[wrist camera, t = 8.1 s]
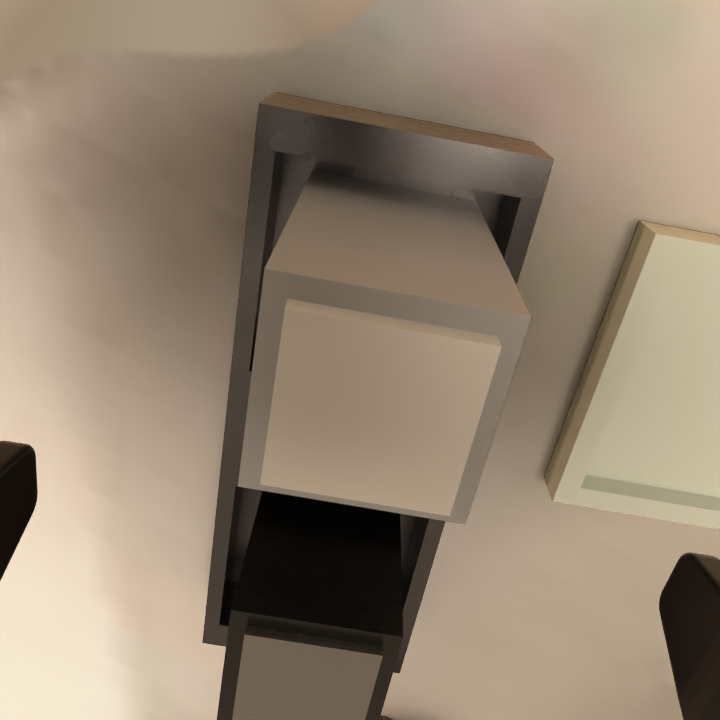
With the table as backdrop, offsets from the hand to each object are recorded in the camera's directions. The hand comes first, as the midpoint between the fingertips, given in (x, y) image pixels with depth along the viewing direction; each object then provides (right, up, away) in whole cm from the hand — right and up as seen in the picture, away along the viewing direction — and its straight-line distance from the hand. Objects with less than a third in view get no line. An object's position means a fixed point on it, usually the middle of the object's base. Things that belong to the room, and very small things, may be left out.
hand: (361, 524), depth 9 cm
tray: (+11, +1, +12) cm, 16 cm away
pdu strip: (0, +1, +13) cm, 13 cm away
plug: (+1, +5, +10) cm, 11 cm away
